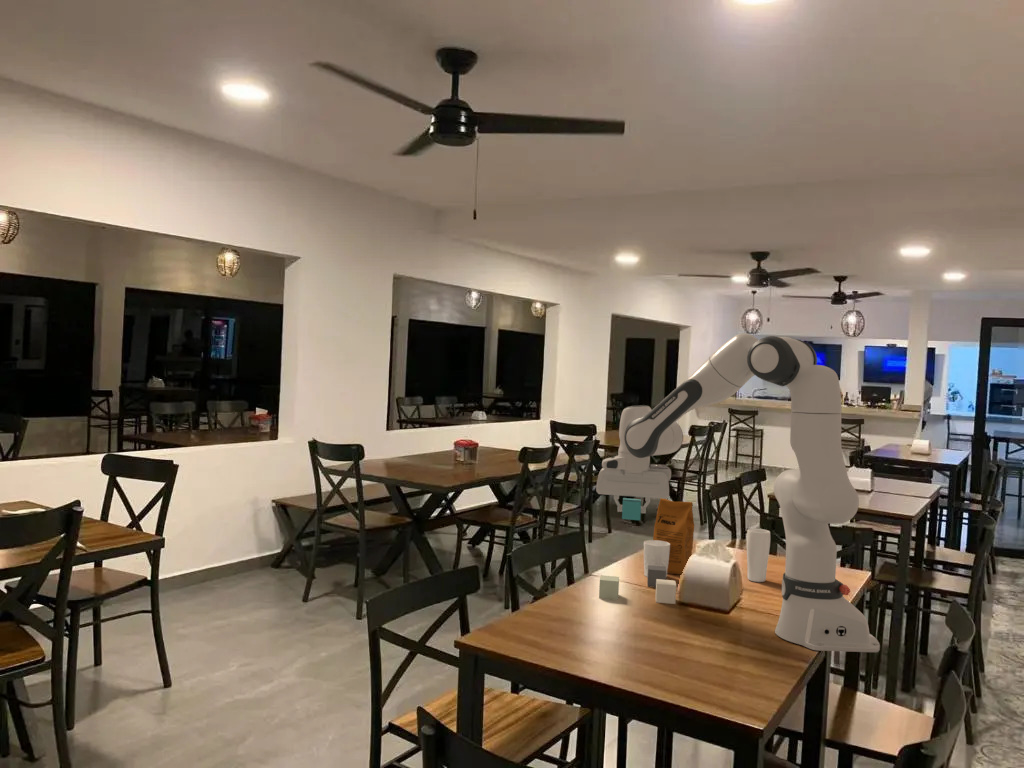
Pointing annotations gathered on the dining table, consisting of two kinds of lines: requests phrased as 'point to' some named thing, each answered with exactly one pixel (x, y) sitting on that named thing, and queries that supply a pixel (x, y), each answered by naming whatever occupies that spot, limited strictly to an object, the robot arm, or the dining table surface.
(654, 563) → the white cup
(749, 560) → the drinking glass
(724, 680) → the dining table surface
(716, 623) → the dining table surface
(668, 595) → the cream cube
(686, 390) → the robot arm
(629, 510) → the teal cube
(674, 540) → the coffee package
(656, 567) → the charcoal cube
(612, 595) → the sage cube
